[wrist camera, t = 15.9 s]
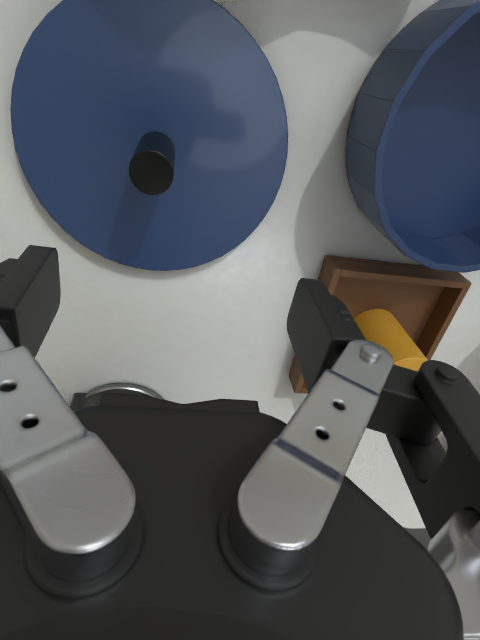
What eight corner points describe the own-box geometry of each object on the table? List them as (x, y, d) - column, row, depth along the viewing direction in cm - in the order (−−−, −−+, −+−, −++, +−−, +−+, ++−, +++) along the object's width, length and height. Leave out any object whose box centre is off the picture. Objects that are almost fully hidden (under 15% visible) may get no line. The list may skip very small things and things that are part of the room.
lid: (33, 252, 30) (0, 298, 25) (-6, -56, 21) (-72, -92, 15) (258, 274, 33) (273, 318, 28) (313, 15, 24) (351, 7, 19)
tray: (288, 375, 40) (294, 393, 38) (325, 255, 33) (334, 269, 31) (399, 380, 43) (409, 397, 41) (455, 269, 35) (472, 283, 33)
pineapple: (338, 348, 38) (377, 423, 31) (355, 306, 36) (401, 376, 28) (384, 351, 39) (432, 425, 32) (403, 310, 37) (461, 379, 29)
